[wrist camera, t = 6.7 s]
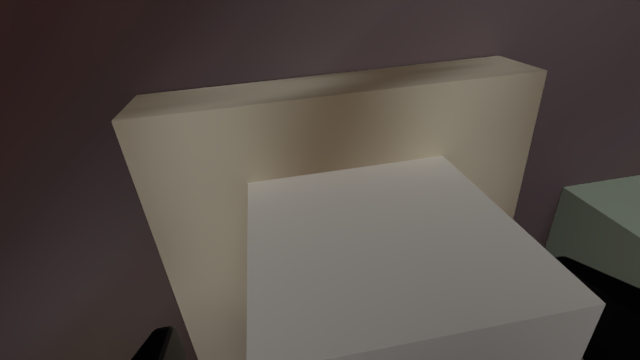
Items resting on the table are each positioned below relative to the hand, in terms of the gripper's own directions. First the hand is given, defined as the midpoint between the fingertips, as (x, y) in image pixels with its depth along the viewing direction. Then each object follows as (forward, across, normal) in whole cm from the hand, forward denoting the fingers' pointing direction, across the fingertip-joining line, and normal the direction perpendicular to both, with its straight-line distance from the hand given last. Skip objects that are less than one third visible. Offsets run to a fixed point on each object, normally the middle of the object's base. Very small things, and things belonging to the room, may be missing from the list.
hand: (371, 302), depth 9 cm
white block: (+2, 0, 0) cm, 2 cm away
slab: (+4, 0, 0) cm, 4 cm away
